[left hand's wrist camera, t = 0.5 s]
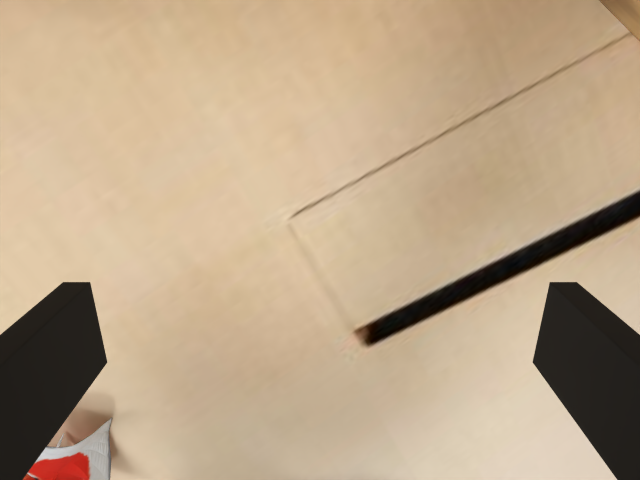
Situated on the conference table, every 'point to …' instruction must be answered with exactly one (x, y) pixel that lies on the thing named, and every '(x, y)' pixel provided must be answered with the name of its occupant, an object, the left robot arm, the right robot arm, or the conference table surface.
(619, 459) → the left robot arm
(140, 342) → the conference table surface
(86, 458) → the fish
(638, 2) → the beam
